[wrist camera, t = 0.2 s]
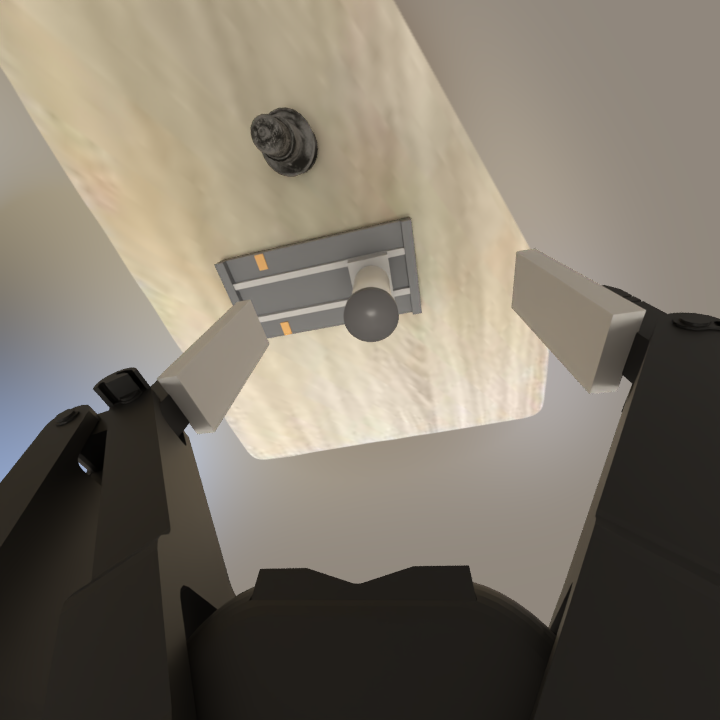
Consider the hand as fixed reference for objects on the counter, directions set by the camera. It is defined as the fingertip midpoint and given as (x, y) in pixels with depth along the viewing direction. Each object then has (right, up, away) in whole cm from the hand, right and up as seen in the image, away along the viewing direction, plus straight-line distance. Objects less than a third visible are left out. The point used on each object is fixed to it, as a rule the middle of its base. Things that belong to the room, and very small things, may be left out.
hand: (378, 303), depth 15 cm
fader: (+1, +8, +23) cm, 25 cm away
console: (-6, +8, +27) cm, 29 cm away
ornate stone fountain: (-9, +22, +19) cm, 30 cm away
